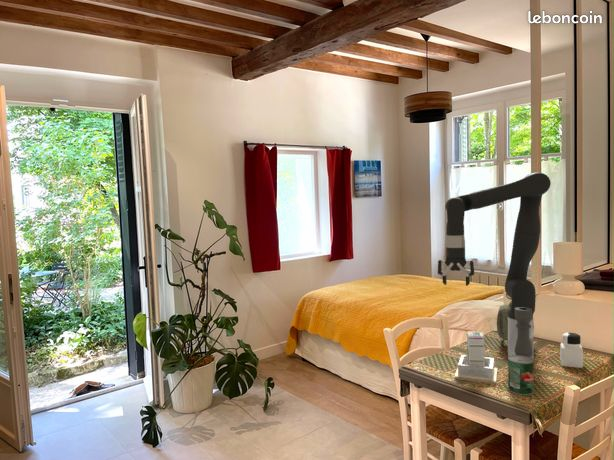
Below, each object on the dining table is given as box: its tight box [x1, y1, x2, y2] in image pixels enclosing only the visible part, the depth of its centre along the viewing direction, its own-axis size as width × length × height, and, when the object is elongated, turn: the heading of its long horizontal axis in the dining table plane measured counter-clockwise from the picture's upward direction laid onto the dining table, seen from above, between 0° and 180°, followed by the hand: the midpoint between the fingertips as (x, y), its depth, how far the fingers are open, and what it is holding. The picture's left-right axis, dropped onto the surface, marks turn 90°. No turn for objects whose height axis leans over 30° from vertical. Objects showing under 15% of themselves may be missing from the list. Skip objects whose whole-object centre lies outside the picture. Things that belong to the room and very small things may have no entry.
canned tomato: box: [507, 355, 535, 396], centre depth 156 cm, size 8×8×11 cm
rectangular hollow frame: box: [454, 354, 499, 385], centre depth 172 cm, size 14×14×5 cm
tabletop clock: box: [496, 294, 535, 345], centre depth 200 cm, size 14×9×25 cm, turn 65°
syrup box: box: [466, 331, 486, 367], centre depth 172 cm, size 6×6×14 cm
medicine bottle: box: [559, 332, 584, 369], centre depth 179 cm, size 7×7×12 cm
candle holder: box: [514, 307, 534, 357], centre depth 168 cm, size 6×6×25 cm
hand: (456, 285), depth 190 cm, fingers open, 8 cm apart
